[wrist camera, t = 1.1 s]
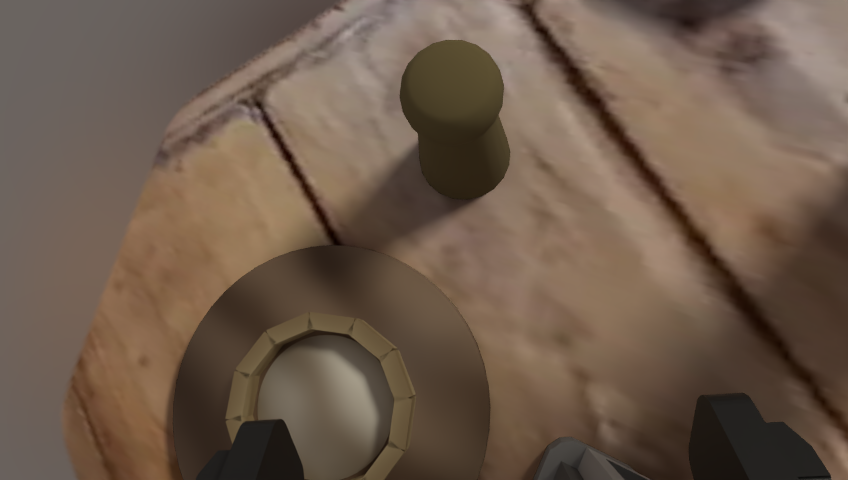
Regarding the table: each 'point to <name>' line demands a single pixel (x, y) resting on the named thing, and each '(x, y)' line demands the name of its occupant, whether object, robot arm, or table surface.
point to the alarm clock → (581, 463)
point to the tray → (337, 370)
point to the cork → (457, 117)
